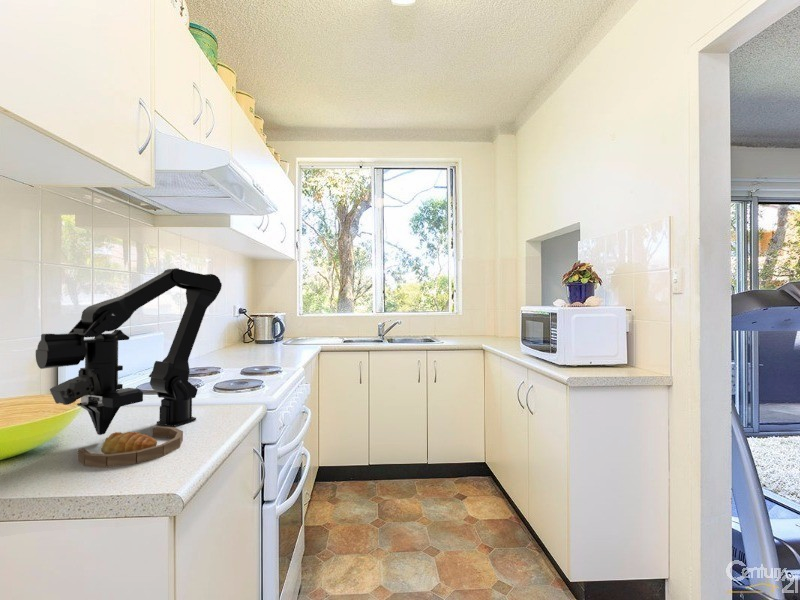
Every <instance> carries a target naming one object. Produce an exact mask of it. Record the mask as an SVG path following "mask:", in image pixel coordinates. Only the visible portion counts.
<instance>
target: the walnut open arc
mask: <svg viewBox="0 0 800 600" xmlns="http://www.w3.org/2000/svg"><path fill="white" fill-rule="evenodd" d="M151 433H152V436H151V437H152V438H153V437H155V438H170V439H169V440H167V441H164V442H163V443H161V444H159V445H158V444H157V445H156V446H154V447H150V448H146V449H142V450H138V451H133V452H125V453H116V454H104V453H96V452H95V453H94V452H90V451H89V450H88V449H86V448H85V447H83V448H78V449H77V461H78V462H79V463H80V464H81V465H83V466H84V467H92V468H93V467H94V468H114V467H119V466H127V465H133V464H134V465H136V464H139V463H143V462H148V461H151V460H153V459H157V458H161V457H164V456H166V455H168V454H170V453H172V452H174V451H176V450H177V449H179V448H180V447H181V445H182V443H183V442H184V441H183V440H184V431H183V430H181V429H179V428H177V427H176V426H156V425H155V426H153V427H152V430H151Z"/></svg>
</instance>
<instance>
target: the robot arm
mask: <svg viewBox="0 0 800 600" xmlns="http://www.w3.org/2000/svg"><path fill="white" fill-rule="evenodd" d="M222 284H223V283H222V282H221V280H220V278H219V277H218V276H217V275H215V274H213V273H209V274H203V273H197V272H194V271H188V270H184V269H182V268H177V267H175V268H174V267H173V268H167V269H165V270H164V271H162V273H159V274H157V276H154V277H153V278H151V279H148V280H147V281H145V282H144V283H142V284H140V285H138V286H136V287H134V288H132V289H131V290H129V291H128V292H126V293H124V294H122V295H120V296H117V297H113V298H110V299H106V300H103V301H100V302H97V303H94V304H92V305H89V306H88V307H86V308H84V309H83V310H82V311H81V318H80V320H79V321H78V322H77V323H76V324H75V326H73V327H72V329H71V330H70V331H69V332H68V333H41V335H40V340H39V341H38V345H37V348H36V349H35V361H36V364H37V367H38V368H39V369H41V370H42V369H50V368H53V369H54V368H59V367H60V368H62V367H70V366H72V367H73V366H78V365H80V362H81V361H84V367H80V369H78V375H77V376H75V377H73V378H69V379H68V380H66V381H63V382H62V383H59V384H57V385H54V386H52V387H51V388H50V389H49V392H50V394H51V396H52V397H53V401H54V403H55V404H61V405H65V406H66V405H67V406H68V405H71V404H74V403H75V402H76V401H77V400H79V399H80V402H77V403H76V405H77V406H78V407H80V408H82V409H84V410H86V411H87V412H88V415H89V416H90V419H91V422H92V424H93V427H94V429H95V432H96V435H98V436H103V435H105V434H106V432H107V431H108V429H109V427H110V426H111V423H112V421H113V419H115V418H114V417H115V416H116V415H117V413H118V412H119V410H120V408H121V407H124V406H125V407H126V406H128V405H133V404H138V403H142V402H143V401H144V392H143V391H142V390H141V389H140V388H134V387H126V388H123V387H124V386H123V384H122V383H119V371H123V369H124V366H123V365H119V341H128V340H130V336H128V335H127V334H125V333H124V332H123V330H121V329H119V328H121V326H122V325H123V324H125V323H126V322H127V321H128V320H129V319H131V317H132V315H133V314H134V312H136V311H138V309H140V308H141V307H143V306H145V305H146V304H148V303H151V301H153V300H154V299H157V298H158V297H160V296H161V295H163V294H165V293H167V292H168V291H170V290H171V289H173V288H175V287H177V288H180V289H184V290H185V297H186V306H185V309H184V310H183V311H184V312H183V314H182V316H181V318H180V322H179V325H178V327H177V330H176V332H175V335H174V337H173V340H172V343H171V345H170V348H169V350H168V353H167V355H166V357H165V358H163V360H160V361H158V360H155V362H154V363H153V368H152V371H151V372H150V374H149V375H148V378H150V379H149V380H150V381H149V385H150V386H151V388H152V390H153V391H154V392H156V395H157V397H158V398H162V399H161V400H160V406H159V420H158V421H156V425H157V424H158V425H162V426H166V427H177V426H180V425H183V424H186V423H190V422H193V421H197V417H196V416H195V417H194V416H193V399H195V398H196V397H197V394H198V391H199V390H198V388H197V387H195V386H194V385H193V384H192V383H191V382H190V381H189V379H190V373H191V372H190V371H191V370H190V365H189V364H190V363H189V360H190V356H191V354H192V351H193V347H194V345H195V342H196V340H197V336H198V334H199V331H200V328H201V326H202V323H203V319H204V317H205V315H206V314H205V313H206V311H207V310H208V307H210V305H212V304H213V302H214V301H216V299H217V297H218V296H219V294H220V292H221V291H222V286H223V285H222ZM105 332H111V333H105ZM85 338H86V339H85Z"/></svg>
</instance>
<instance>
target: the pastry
mask: <svg viewBox="0 0 800 600" xmlns="http://www.w3.org/2000/svg"><path fill="white" fill-rule="evenodd" d="M154 446H158V441H157V439H156V438H153V437H152V436H150V435H147V434H146V433H145V434H143V433H140V432H138V431H127V432H124V433H123V432H121V431H120V432H119V431H118V432H117V431H115V432H113V433H111V434H110V435H108V437H106V439H104V442H103V444H102V445H101V448H100V451H101V452H102V454H116V453H125V452H133V451H138V450H142V449H146V448H150V447H154Z"/></svg>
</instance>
